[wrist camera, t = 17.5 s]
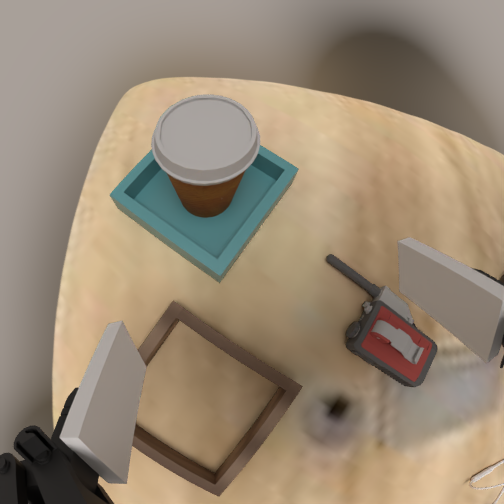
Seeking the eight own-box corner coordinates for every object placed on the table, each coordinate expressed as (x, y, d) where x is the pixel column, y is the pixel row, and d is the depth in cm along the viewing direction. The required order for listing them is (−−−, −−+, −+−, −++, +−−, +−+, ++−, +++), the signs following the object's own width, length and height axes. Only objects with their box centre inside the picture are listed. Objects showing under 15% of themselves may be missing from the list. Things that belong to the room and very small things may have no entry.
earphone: (480, 470, 24) (558, 468, 13) (466, 452, 36) (531, 455, 26) (444, 538, 20) (524, 536, 9) (441, 507, 32) (506, 509, 21)
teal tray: (195, 126, 38) (195, 109, 34) (291, 183, 37) (298, 168, 33) (118, 208, 33) (109, 194, 30) (219, 282, 32) (220, 275, 29)
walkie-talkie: (436, 335, 34) (327, 252, 35) (457, 332, 30) (341, 240, 31) (409, 392, 31) (289, 312, 33) (430, 395, 27) (300, 308, 29)
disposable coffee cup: (184, 244, 32) (171, 194, 21) (155, 177, 34) (137, 111, 23) (260, 211, 35) (283, 152, 23) (226, 150, 36) (233, 81, 25)
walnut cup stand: (177, 304, 31) (173, 300, 28) (295, 382, 30) (302, 386, 27) (103, 410, 26) (93, 415, 23) (218, 484, 25) (218, 496, 22)
